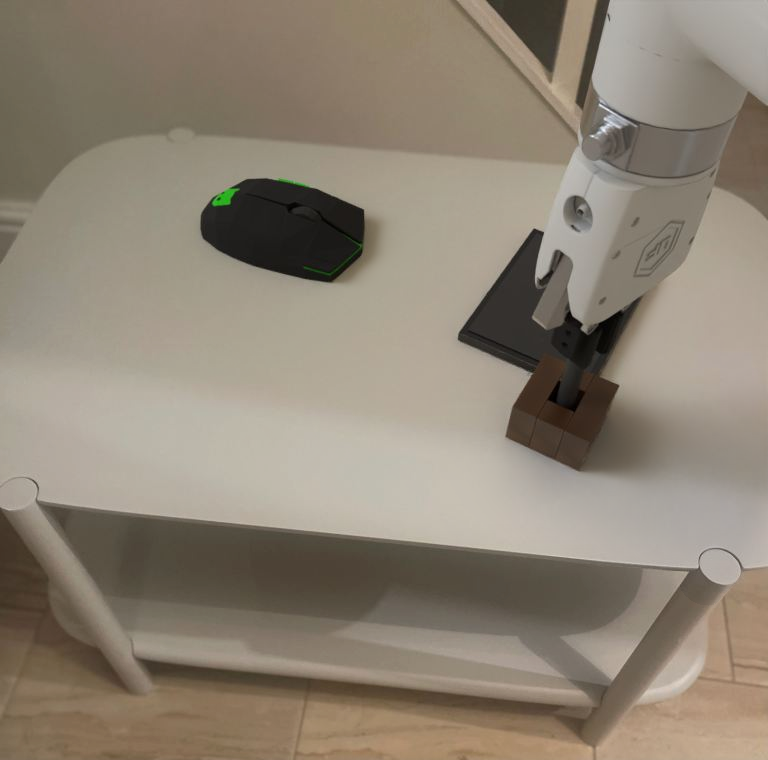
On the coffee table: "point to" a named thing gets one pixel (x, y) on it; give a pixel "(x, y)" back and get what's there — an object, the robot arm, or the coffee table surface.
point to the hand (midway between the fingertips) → (580, 347)
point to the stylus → (569, 385)
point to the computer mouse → (285, 228)
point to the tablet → (521, 316)
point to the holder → (560, 414)
